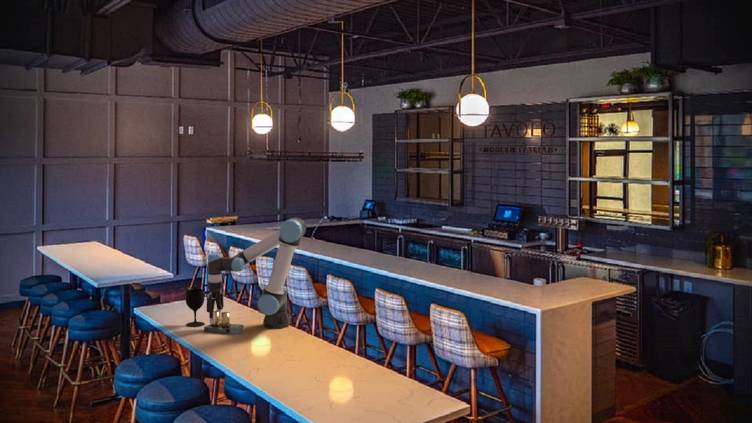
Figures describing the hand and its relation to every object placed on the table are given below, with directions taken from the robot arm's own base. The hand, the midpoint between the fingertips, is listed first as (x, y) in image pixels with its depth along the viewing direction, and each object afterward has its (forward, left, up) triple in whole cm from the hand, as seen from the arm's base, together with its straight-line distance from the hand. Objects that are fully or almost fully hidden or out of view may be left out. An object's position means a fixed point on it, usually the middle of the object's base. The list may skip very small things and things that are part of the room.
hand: (215, 322), depth 353 cm
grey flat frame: (0, +3, -4) cm, 5 cm away
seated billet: (0, +7, -4) cm, 8 cm away
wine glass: (-4, -16, -4) cm, 17 cm away
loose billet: (0, 0, -4) cm, 4 cm away
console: (+1, +14, -4) cm, 15 cm away
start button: (+1, +14, -1) cm, 14 cm away
